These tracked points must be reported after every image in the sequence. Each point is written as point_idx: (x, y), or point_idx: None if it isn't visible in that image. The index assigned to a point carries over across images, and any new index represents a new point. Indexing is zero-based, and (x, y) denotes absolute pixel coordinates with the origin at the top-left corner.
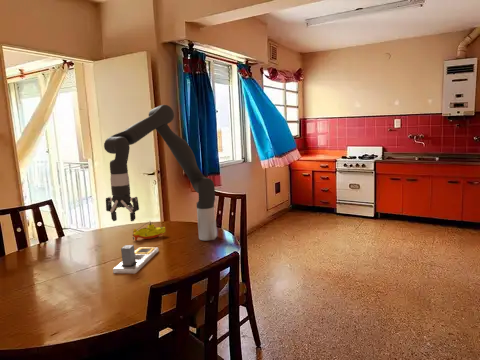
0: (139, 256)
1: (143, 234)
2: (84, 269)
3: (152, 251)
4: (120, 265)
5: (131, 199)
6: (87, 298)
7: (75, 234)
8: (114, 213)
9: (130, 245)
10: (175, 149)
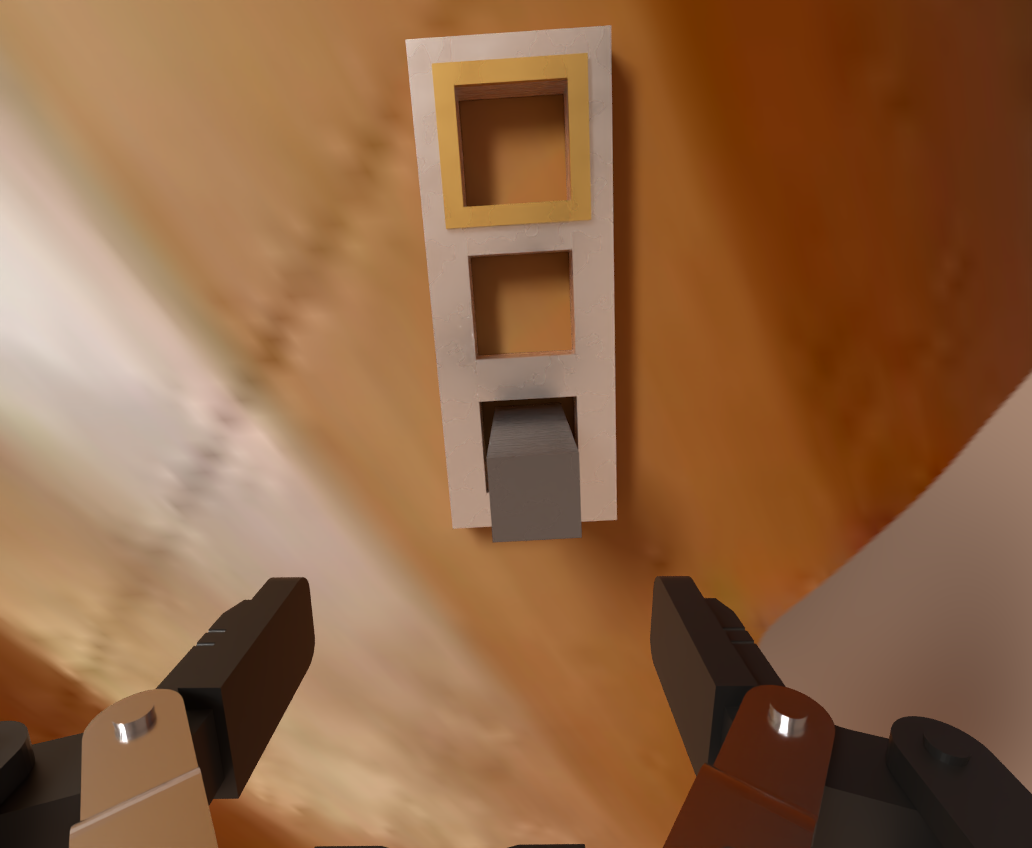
0: (514, 253)
1: None
2: (207, 476)
3: (598, 152)
4: (475, 473)
5: None
6: (501, 779)
7: None
8: (244, 738)
9: (547, 463)
10: None
